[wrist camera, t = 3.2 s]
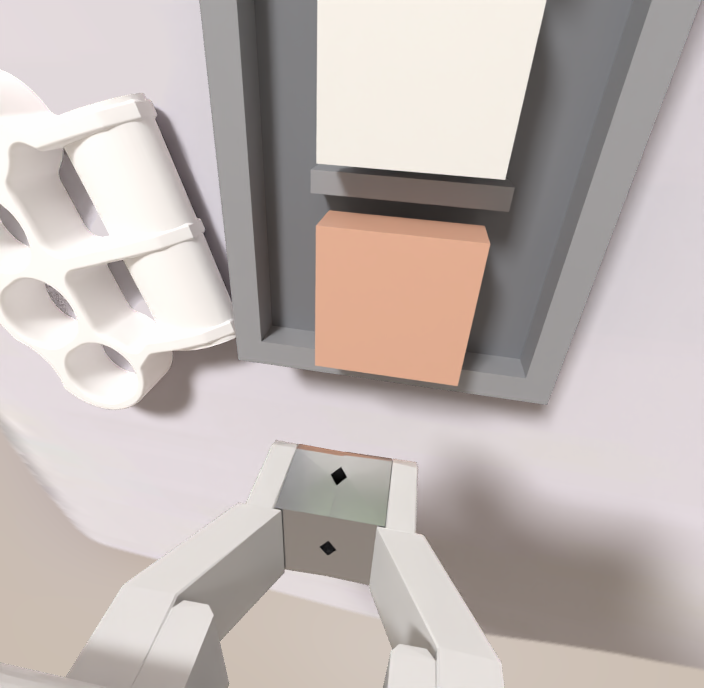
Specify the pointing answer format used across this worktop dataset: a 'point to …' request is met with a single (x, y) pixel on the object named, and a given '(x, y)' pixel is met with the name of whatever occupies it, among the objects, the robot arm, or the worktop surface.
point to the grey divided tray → (439, 180)
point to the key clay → (396, 294)
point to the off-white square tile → (423, 83)
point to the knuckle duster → (102, 246)
